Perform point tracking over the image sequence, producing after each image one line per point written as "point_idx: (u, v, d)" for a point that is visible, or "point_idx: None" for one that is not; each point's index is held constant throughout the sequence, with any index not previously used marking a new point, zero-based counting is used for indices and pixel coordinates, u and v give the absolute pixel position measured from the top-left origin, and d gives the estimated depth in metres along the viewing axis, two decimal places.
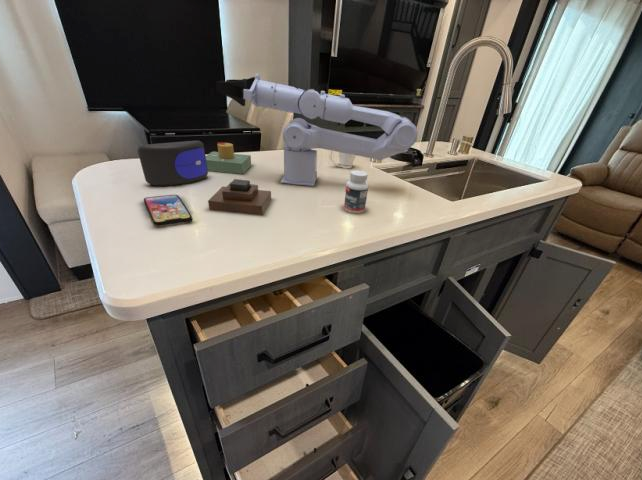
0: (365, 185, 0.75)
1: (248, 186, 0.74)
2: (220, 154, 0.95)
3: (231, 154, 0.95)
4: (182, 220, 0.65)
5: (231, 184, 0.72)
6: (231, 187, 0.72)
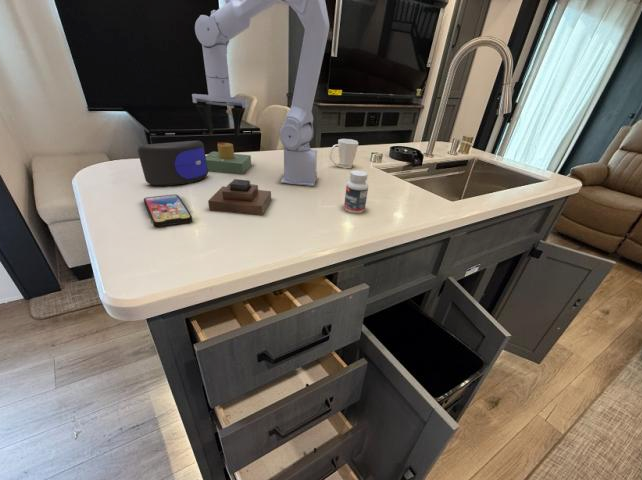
0: (365, 185, 0.75)
1: (248, 186, 0.74)
2: (220, 154, 0.95)
3: (231, 154, 0.95)
4: (182, 220, 0.65)
5: (231, 184, 0.72)
6: (231, 187, 0.72)
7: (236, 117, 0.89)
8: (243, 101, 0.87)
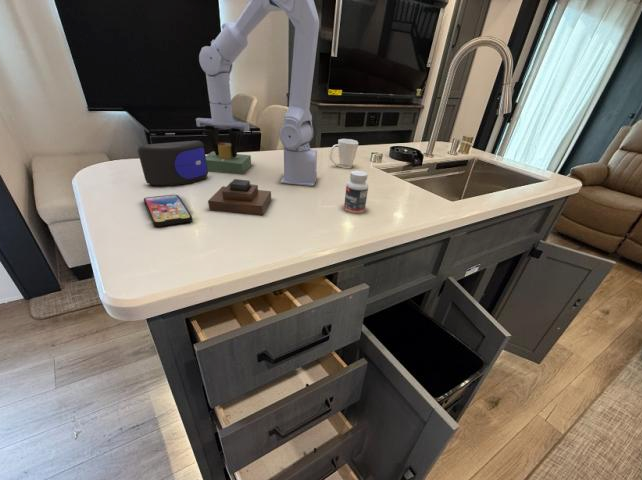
0: (365, 185, 0.75)
1: (248, 186, 0.74)
2: (220, 154, 0.95)
3: (231, 154, 0.95)
4: (182, 220, 0.65)
5: (231, 184, 0.72)
6: (231, 187, 0.72)
7: (233, 139, 0.92)
8: (245, 125, 0.91)
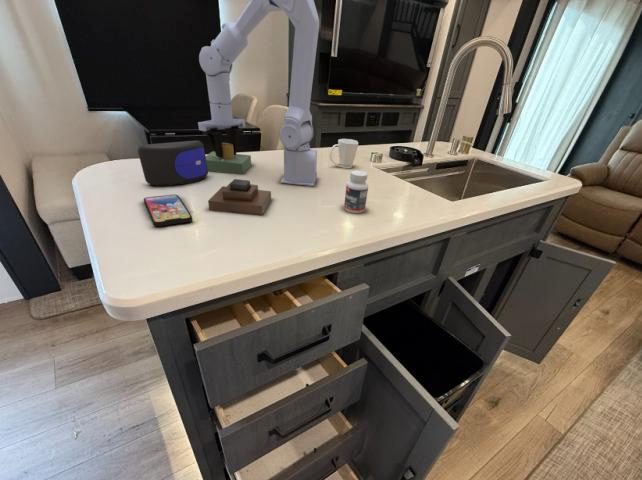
0: (365, 185, 0.75)
1: (248, 186, 0.74)
2: (227, 154, 0.95)
3: (233, 152, 0.97)
4: (182, 220, 0.65)
5: (231, 184, 0.72)
6: (231, 187, 0.72)
7: (238, 137, 0.95)
8: (243, 121, 0.95)
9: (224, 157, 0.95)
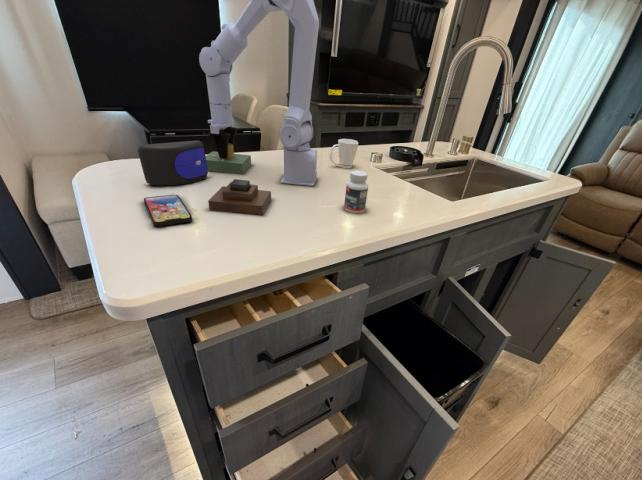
0: (365, 185, 0.75)
1: (248, 186, 0.74)
2: (231, 154, 0.95)
3: None
4: (182, 220, 0.65)
5: (231, 184, 0.72)
6: (231, 187, 0.72)
7: (234, 136, 0.96)
8: (233, 119, 0.97)
9: (229, 157, 0.95)
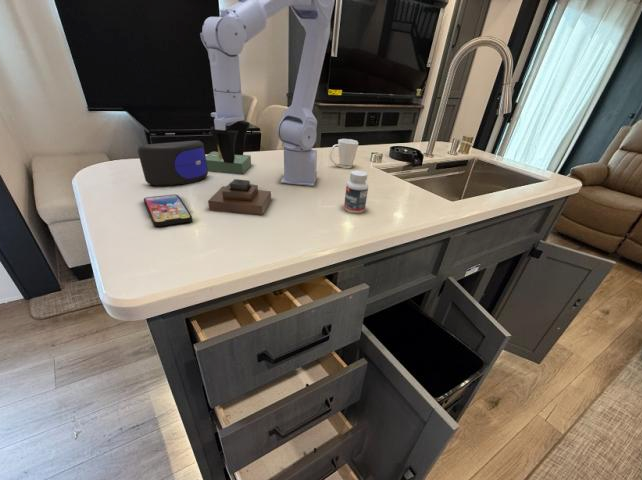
0: (365, 185, 0.75)
1: (248, 186, 0.74)
2: None
3: None
4: (182, 220, 0.65)
5: (231, 184, 0.72)
6: (231, 187, 0.72)
7: (246, 132, 0.77)
8: (242, 113, 0.77)
9: None
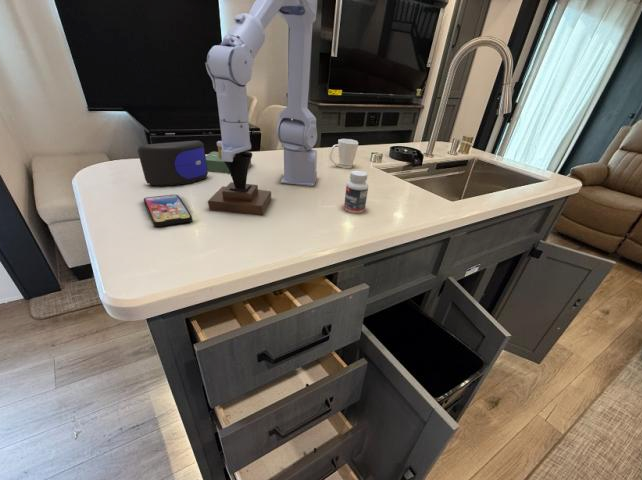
0: (365, 185, 0.75)
1: None
2: None
3: None
4: (182, 220, 0.65)
5: (232, 189, 0.73)
6: None
7: (248, 163, 0.72)
8: None
9: None
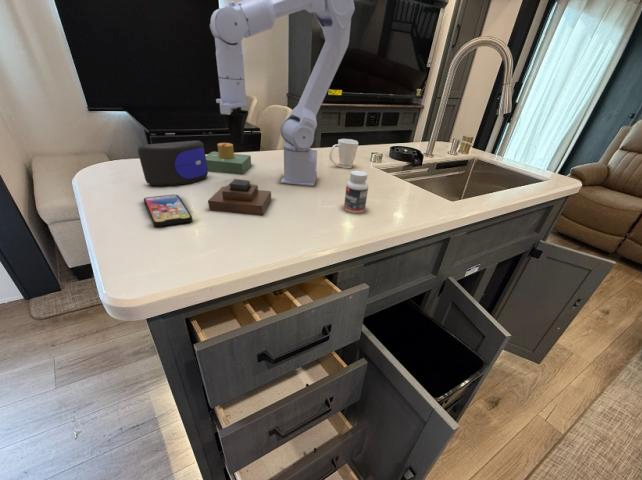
0: (365, 185, 0.75)
1: (248, 186, 0.74)
2: (231, 154, 0.95)
3: None
4: (182, 220, 0.65)
5: (231, 184, 0.72)
6: (231, 187, 0.72)
7: (245, 121, 0.79)
8: None
9: (229, 157, 0.95)
